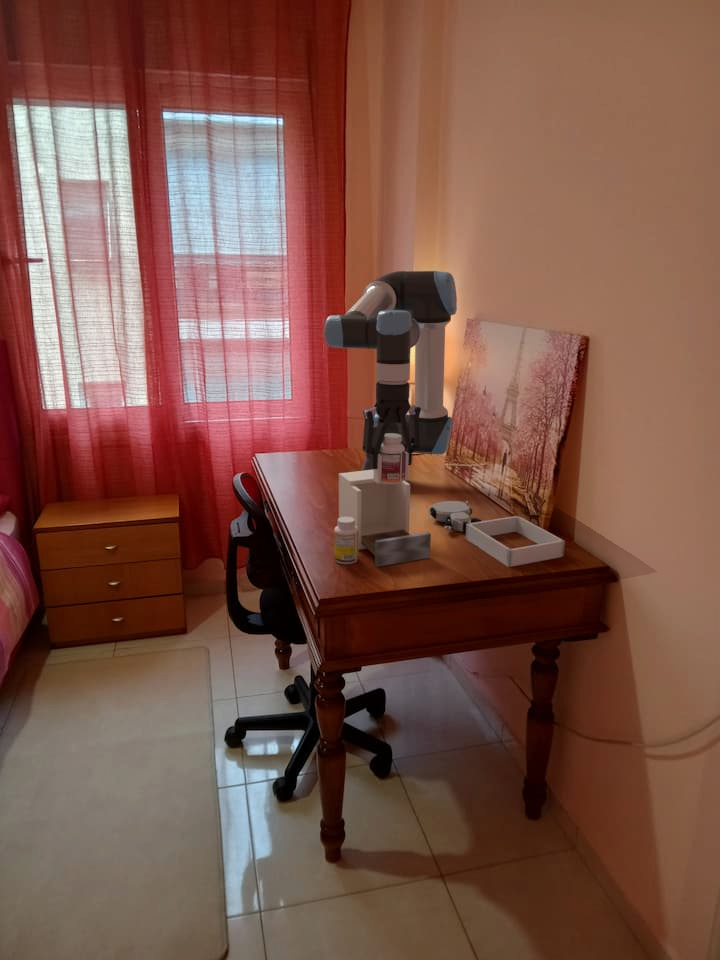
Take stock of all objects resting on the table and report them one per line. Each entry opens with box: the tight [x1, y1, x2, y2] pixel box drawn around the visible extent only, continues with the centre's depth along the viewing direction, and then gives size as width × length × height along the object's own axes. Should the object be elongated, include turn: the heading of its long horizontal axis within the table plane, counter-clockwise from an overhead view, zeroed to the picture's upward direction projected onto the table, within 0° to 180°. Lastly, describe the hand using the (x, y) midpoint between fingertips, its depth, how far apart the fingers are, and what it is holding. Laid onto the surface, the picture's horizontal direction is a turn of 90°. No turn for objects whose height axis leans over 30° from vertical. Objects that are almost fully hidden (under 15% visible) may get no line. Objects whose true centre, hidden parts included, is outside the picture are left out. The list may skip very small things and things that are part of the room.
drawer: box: [362, 529, 432, 568], centre depth 162 cm, size 14×12×6 cm
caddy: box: [338, 469, 411, 551], centre depth 171 cm, size 14×12×16 cm
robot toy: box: [425, 500, 482, 532], centre depth 182 cm, size 12×4×15 cm
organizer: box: [465, 515, 566, 568], centre depth 167 cm, size 16×19×4 cm
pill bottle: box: [379, 433, 405, 485], centre depth 158 cm, size 6×6×11 cm
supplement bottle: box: [333, 517, 359, 565], centre depth 158 cm, size 6×6×10 cm
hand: (390, 480), depth 159 cm, fingers closed on pill bottle, 6 cm apart
